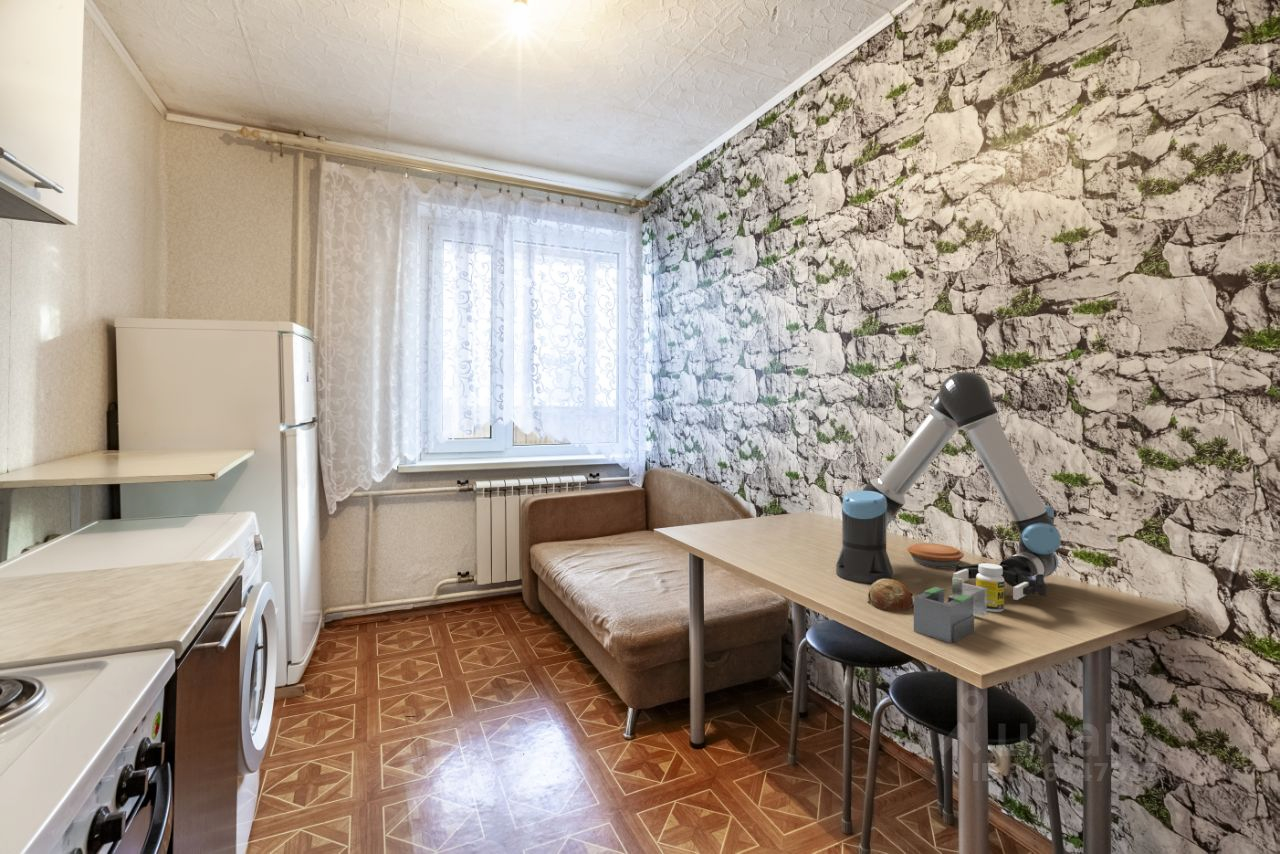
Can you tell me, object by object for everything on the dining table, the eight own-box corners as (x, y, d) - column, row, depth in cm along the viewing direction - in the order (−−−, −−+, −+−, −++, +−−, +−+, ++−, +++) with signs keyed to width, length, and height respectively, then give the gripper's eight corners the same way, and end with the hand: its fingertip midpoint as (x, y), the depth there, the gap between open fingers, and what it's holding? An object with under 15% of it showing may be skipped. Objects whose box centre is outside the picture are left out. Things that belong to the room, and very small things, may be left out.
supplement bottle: (1002, 614, 127) (1002, 570, 127) (973, 609, 131) (973, 566, 131) (1005, 607, 132) (1006, 565, 131) (978, 602, 135) (978, 561, 135)
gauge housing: (935, 620, 124) (936, 585, 124) (974, 631, 118) (974, 595, 117) (912, 630, 118) (913, 594, 118) (951, 643, 112) (952, 605, 112)
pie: (960, 573, 160) (960, 556, 159) (902, 564, 169) (902, 548, 169) (967, 561, 172) (967, 545, 172) (912, 553, 181) (912, 538, 181)
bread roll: (868, 611, 140) (855, 583, 140) (906, 594, 139) (892, 566, 139) (884, 626, 130) (870, 596, 130) (925, 608, 130) (910, 578, 129)
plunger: (963, 608, 129) (963, 569, 128) (986, 614, 125) (987, 574, 124) (941, 618, 123) (942, 577, 122) (965, 625, 119) (966, 583, 118)
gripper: (1079, 597, 132) (1045, 617, 119) (969, 573, 152) (930, 588, 139) (1079, 566, 132) (1045, 583, 119) (969, 546, 151) (930, 558, 139)
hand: (983, 586), depth 129 cm, fingers open, 12 cm apart
